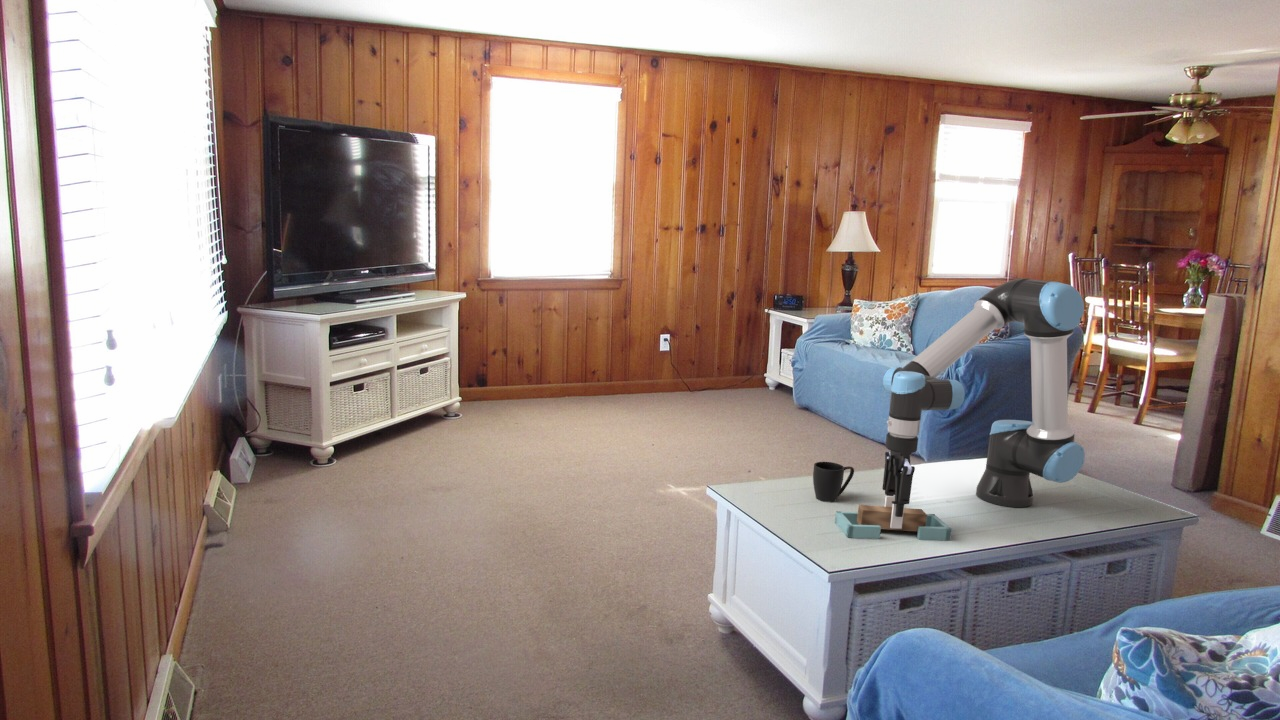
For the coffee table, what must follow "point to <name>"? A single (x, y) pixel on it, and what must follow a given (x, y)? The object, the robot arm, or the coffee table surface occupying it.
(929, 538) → the teal staple arch
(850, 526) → the cap
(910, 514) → the slat
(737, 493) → the coffee table surface
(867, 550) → the coffee table surface
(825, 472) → the mug
